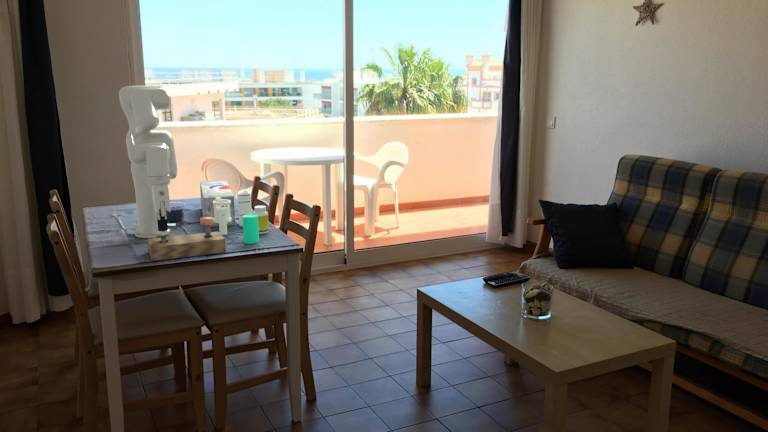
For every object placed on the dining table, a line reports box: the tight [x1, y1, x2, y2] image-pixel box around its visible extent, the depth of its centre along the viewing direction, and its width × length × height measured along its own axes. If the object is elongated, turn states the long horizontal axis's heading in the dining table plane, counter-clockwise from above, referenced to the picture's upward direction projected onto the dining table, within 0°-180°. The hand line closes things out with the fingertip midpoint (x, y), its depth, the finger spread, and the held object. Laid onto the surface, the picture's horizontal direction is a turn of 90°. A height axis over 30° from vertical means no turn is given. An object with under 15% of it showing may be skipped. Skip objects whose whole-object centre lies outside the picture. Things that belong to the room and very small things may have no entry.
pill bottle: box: [252, 205, 270, 235], centre depth 265 cm, size 6×6×11 cm
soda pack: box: [199, 179, 236, 228], centre depth 293 cm, size 41×13×14 cm, turn 18°
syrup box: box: [236, 190, 253, 227], centre depth 277 cm, size 6×6×14 cm
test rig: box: [146, 231, 227, 262], centre depth 237 cm, size 26×12×5 cm, turn 116°
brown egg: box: [199, 216, 214, 238], centre depth 239 cm, size 5×5×7 cm
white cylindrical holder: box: [213, 197, 232, 236], centre depth 262 cm, size 7×7×15 cm
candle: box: [242, 213, 260, 245], centre depth 251 cm, size 6×6×12 cm
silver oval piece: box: [156, 228, 171, 243], centre depth 233 cm, size 5×5×7 cm
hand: (162, 230), depth 232 cm, fingers closed
